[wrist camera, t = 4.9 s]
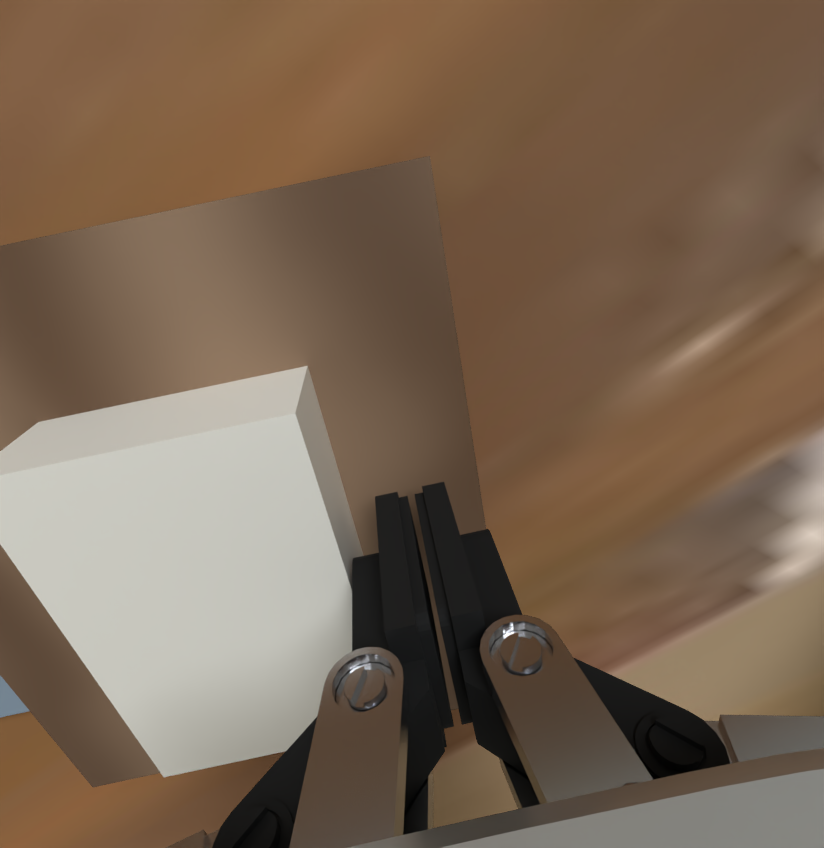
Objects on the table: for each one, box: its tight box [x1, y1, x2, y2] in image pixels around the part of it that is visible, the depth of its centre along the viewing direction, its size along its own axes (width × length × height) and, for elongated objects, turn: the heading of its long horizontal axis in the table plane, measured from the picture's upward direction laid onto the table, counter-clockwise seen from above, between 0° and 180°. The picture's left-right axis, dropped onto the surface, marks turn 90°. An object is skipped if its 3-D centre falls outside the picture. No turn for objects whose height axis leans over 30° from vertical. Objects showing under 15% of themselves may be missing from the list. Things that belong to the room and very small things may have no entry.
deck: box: [0, 156, 486, 787], centre depth 15 cm, size 14×16×5 cm
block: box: [0, 366, 363, 777], centre depth 12 cm, size 6×9×2 cm, turn 10°
